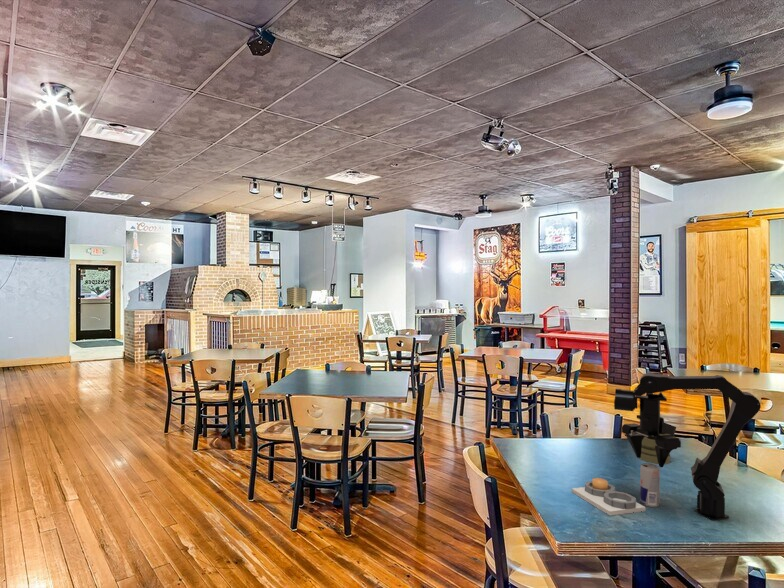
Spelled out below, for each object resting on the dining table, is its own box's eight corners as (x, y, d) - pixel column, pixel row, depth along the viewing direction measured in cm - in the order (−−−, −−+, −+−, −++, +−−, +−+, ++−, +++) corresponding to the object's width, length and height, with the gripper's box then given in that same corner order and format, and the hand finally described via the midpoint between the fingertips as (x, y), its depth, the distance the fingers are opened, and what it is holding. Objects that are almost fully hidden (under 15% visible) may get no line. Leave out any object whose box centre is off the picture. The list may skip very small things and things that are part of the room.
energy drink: (642, 498, 154) (642, 461, 154) (660, 503, 151) (661, 465, 151) (638, 504, 150) (638, 466, 150) (657, 509, 146) (657, 470, 147)
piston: (665, 435, 186) (634, 429, 194) (665, 466, 186) (634, 459, 193) (673, 430, 194) (643, 425, 202) (673, 459, 194) (643, 453, 202)
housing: (645, 511, 145) (645, 495, 145) (609, 515, 141) (609, 499, 142) (604, 488, 162) (604, 474, 162) (571, 492, 159) (571, 477, 159)
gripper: (695, 419, 144) (695, 470, 144) (648, 405, 162) (648, 451, 162) (665, 420, 141) (665, 473, 141) (620, 407, 159) (620, 453, 159)
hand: (649, 462), depth 151 cm, fingers open, 9 cm apart
